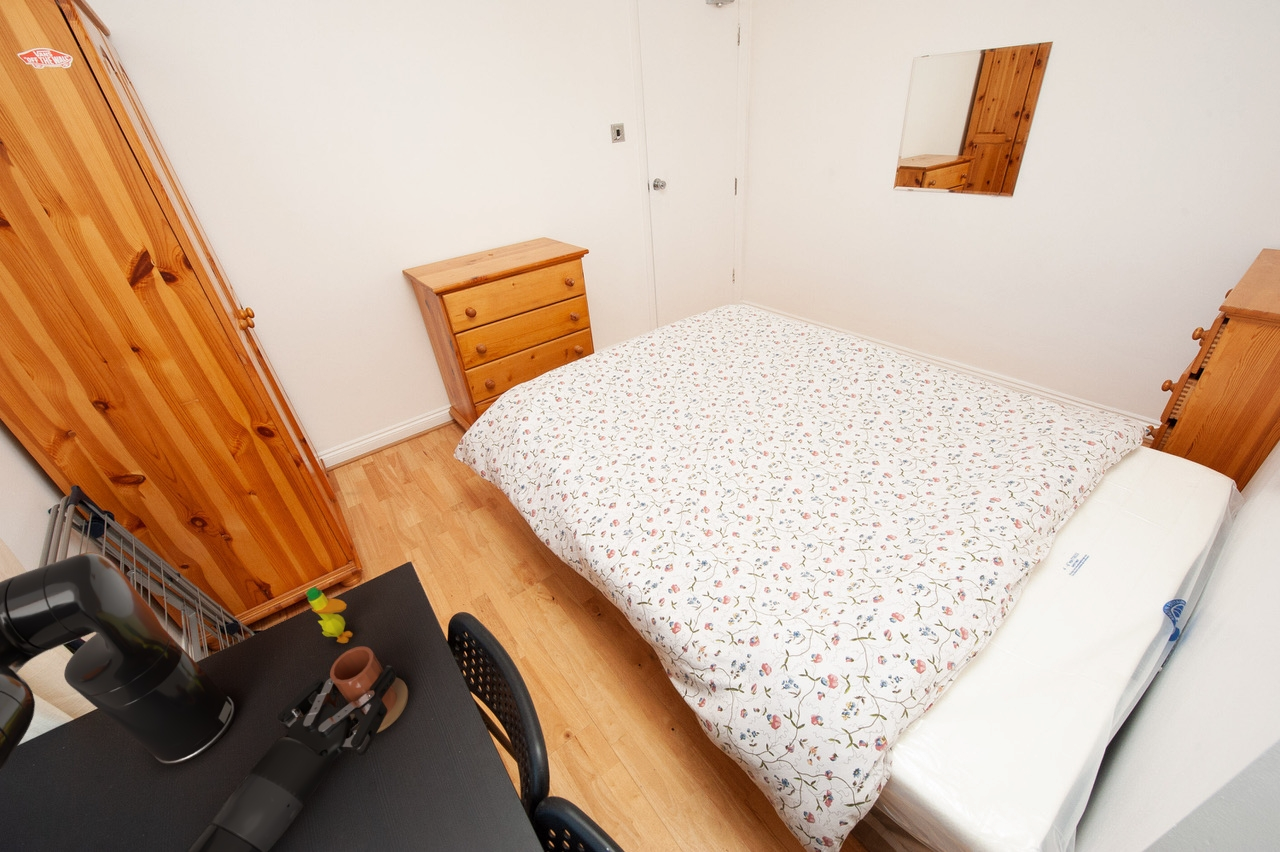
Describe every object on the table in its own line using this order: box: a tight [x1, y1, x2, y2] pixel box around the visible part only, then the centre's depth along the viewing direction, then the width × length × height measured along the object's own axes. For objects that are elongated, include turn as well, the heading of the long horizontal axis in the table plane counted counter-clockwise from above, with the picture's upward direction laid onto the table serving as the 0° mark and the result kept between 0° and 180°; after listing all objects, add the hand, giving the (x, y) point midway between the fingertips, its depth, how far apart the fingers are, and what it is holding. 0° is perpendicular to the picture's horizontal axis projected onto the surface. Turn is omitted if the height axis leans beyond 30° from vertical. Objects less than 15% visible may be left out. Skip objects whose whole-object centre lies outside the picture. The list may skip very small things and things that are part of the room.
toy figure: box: [305, 586, 354, 644], centre depth 81 cm, size 7×4×12 cm, turn 84°
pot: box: [329, 645, 397, 715], centre depth 71 cm, size 5×5×10 cm
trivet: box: [350, 676, 409, 734], centre depth 74 cm, size 8×8×1 cm
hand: (375, 664), depth 72 cm, fingers closed on pot, 5 cm apart
